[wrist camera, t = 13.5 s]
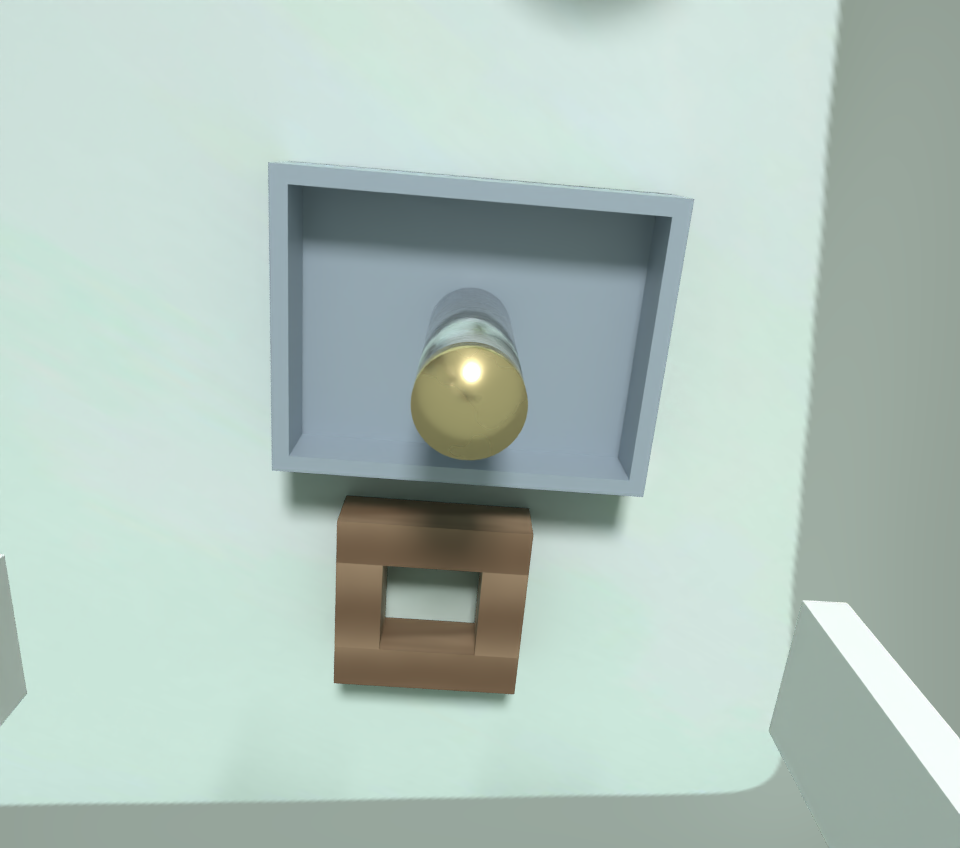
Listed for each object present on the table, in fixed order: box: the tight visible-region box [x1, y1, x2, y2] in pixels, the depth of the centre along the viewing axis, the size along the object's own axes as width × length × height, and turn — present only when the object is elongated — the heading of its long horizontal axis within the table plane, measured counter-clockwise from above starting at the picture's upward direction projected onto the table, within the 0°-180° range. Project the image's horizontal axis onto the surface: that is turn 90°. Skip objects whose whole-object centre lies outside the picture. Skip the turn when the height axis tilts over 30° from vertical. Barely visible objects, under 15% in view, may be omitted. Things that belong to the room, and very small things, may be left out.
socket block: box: [334, 496, 533, 694], centre depth 41 cm, size 10×10×3 cm
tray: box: [268, 161, 694, 497], centre depth 36 cm, size 14×18×4 cm
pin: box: [411, 288, 528, 460], centre depth 31 cm, size 4×4×12 cm
